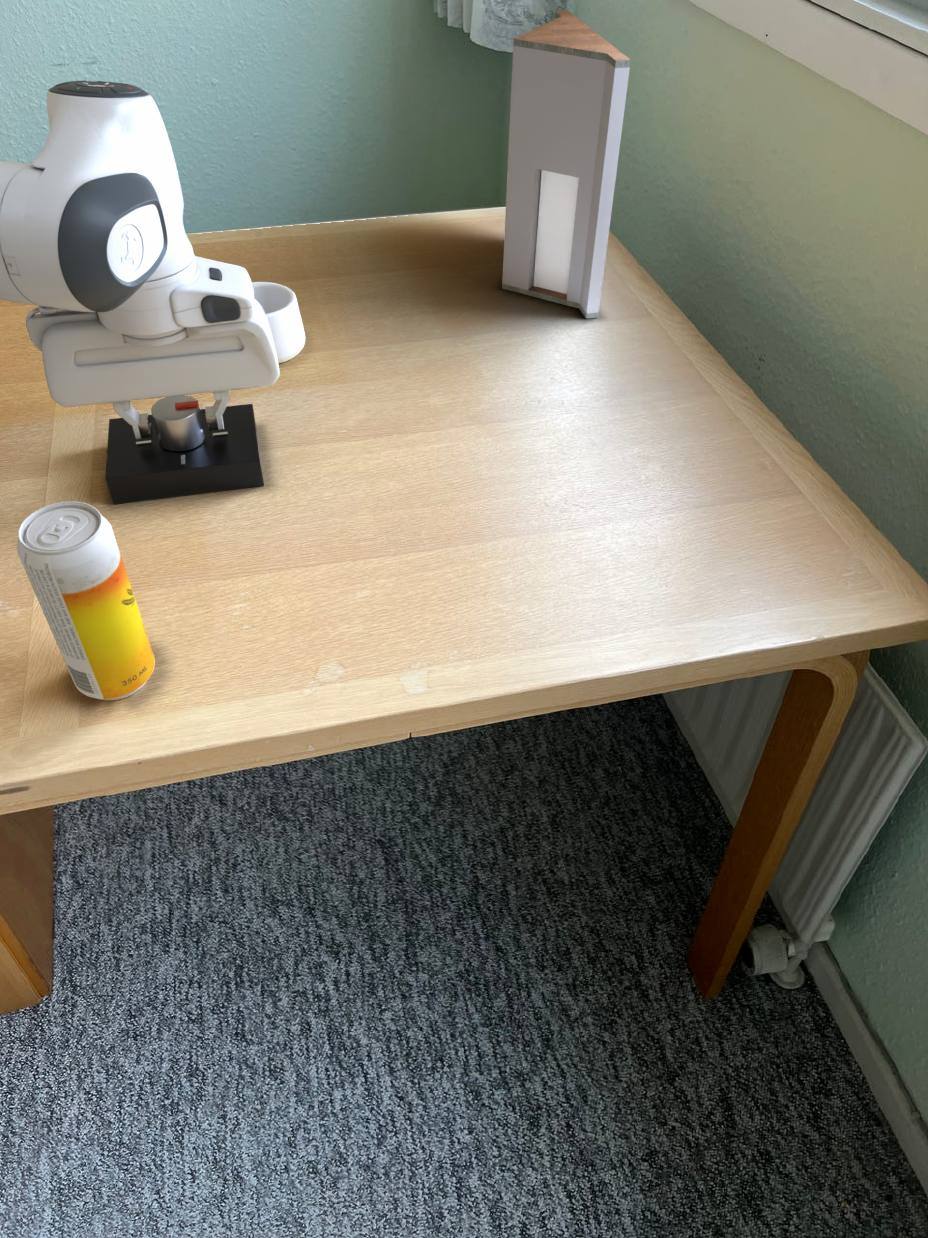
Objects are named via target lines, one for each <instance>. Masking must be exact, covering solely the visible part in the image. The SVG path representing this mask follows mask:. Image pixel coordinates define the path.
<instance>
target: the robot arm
mask: <svg viewBox="0 0 928 1238" xmlns="http://www.w3.org/2000/svg"><path fill="white" fill-rule="evenodd" d="M46 111H47V118H48V125H49V133H48V136H47V138H46V140H45V143H44V145H43V147H42V149H41V151H39V153H38V155H37V156H36V157H35V158H34V159H33V160H32V161H31V162H30V163H26V162H25V163H24V162H16V161H9V160H1V159H0V301H3V302H9V303H15V304H22V305H28V306H36V307H35V308H32V309H31V310H30V311H28V313H27V315H26V317H25V327H26V330H27V333H28V336H29V338H30V341H31V343H32V345H33V346H34V348H36V349H37V350H38V351H40V352H41V356H42V363H43V371H44V376H45V380H46V384H47V385H46V386H47V388H48V392H49V395H50V398H51V399H52V400H53V401H54V402H56V404H58V405H60V406H61V407H63V408H77V407H84V406H85V407H86V406H93V405H105V404H112V406H113V409H114V412H115V413H116V414H117V415H118V416H120V418H123V419H124V420H125V421H126V422H128V423H129V424H130V425H132V427H133V431H134V434H135V438H136V439H144V438H151V437H152V426H151V423H150V419H149V415H150V414H149V412H148V413H139V412H138V411H137V410H136V409H135V408H134V407H133V406H132V404H131V402H132V401H133V402H134V401H142V400H152V399H162V398H165V397H172V396H181V395H185V396H189V395H190V396H191V395H201V394H208V393H213V398H214V400H215V401H214V403H213V405H211V406H205V407H204V409H205V412H206V413H205V415H206V421H207V424H208V430H209V431H213V430H223V429H224V423H223V416H222V415H223V413H224V411H225V409H226V407H227V406H229V402H230V400H231V396H230V395H231V393H230V391H239V390H246V389H247V390H249V389H256V388H266V387H267V388H268V387H272V386H274V385H275V384H276V383H277V381H278V379H279V378H280V376H281V371H280V365H279V364H280V363H279V364H278V358H277V353H276V349H275V344H274V340H273V336H272V333H271V329H270V326H269V323H268V320H267V317H266V314H265V312H264V310H263V308H262V306H261V305H260V303H259V302H258V301H257V300H256V299H254V290H253V285H252V282H253V281H252V279H251V277H250V273H249V272H248V270H247V269H246V268H245V267H243V266H240V265H237V264H233V263H229V262H223V261H218V260H214V259H209V258H206V257H202V256H197V255H195V252H194V248H193V245H192V244H191V241H190V238H189V237H188V234H187V232H186V230H185V225H184V207H185V205H184V195H183V190H182V185H181V180H180V176H179V172H178V167H177V162H176V159H175V155H174V151H173V147H172V143H171V141H170V137H169V134H168V131H167V128H166V124H165V122H164V119H163V117H162V114H161V112H160V110H159V107H158V105H157V103H156V101H155V100H154V98H153V96H152V95H151V94H150V93H149V92H147V91H145V90H144V89H142V88H141V87H138V86H136V85H134V84H133V85H132V84H129V83H122V82H113V81H104V80H97V81H96V80H95V81H94V80H91V81H89V80H71V81H66V82H65V81H64V82H60V83H57V84H55V85H54V86H52V87H50V88H49V89H48V90H47V91H46Z"/></svg>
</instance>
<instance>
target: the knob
mask: <svg viewBox="0 0 928 1238" xmlns="http://www.w3.org/2000/svg"><path fill="white" fill-rule="evenodd" d="M200 409H201V408H200V404H199V400H197V399H196V398H194V397H192V396H191V395H190V396H189V395H181V396H172V397H162V398H159V400H157V401H156V402H154V403H153V404H152V406H151V408H150V415H152V418H153V421H154V425H155V429H156V433H157V437H158V441H159V444H160V445H161V446H162V447H163V448H164V449H166V450H169V451H176V452H180V451H187V450H191V449H194V448H196V447H198V446H199V445H201V444H202V443H203V441H204V440H205V436H206V435H205V430H204V425H203V421H202V416H201V412H200Z"/></svg>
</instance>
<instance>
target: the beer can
mask: <svg viewBox="0 0 928 1238" xmlns="http://www.w3.org/2000/svg"><path fill="white" fill-rule="evenodd" d="M17 538H18V540H17V544H16V552H17V555H18V558H19V560H20V562H21V565H22V566H23V569H24V571H25V573H26V576H27V578H28V581H29V582H30V585H31V587H32V590H33V592H34V595H35V597H36V599H37V601H38V604H39V606H40V608H41V610H42V613H43V615H44V617H45V620H46V622H47V624H48V627H49V629H50V631H51V634H52V635H53V638H54V641H55V643H56V645H57V647H58V649H59V652H60V655H61V656H62V659H63V661H64V663H65V666H66V668H67V671H68V673H69V675H70V678H71V680H72V682H73V684H74V686H75V688H76V689H77V690H78V691H79V692H80V693H81V694H82V695H85V696H87V697H89V698H92V699H97V700H100V701H117V700H122V699H125V698H127V697H130V696H132V695H134V694H136V693H137V692H138V691H140V690H141V689H142V688H143V687H144V686H145V685H146V684H147V682H148V680H149V679H150V678H151V676H152V674H153V673H154V671H155V667H156V666H155V665H156V659H155V655H154V652H153V649H152V646H151V643H150V640H149V637H148V633H147V631H146V627H145V625H144V622H143V618H142V615H141V612H140V609H139V606H138V603H137V600H136V596H135V594H134V591H133V589H132V585H131V581H130V579H129V576H128V572H127V570H126V566H125V564H124V561H123V558H122V555H121V551H120V548H119V545H118V542H117V539H116V537H115V533H114V530H113V526H112V525H111V523H110V521H109V520H108V519H107V518H106V517H104V516H103V515H102V514H101V512H100V511H99V510H98V509H97V507H94V506H93V505H91V504H89V503H86V502H83V501H72V500H71V501H59V502H55V503H51V504H48V505H44V506H42V507H40V508H39V509H37V510H35V511H33V512H32V513H31V514H29V515H27V517H25V518H24V520H23V521H22V522H21V523H20V525H19V527H18V531H17Z"/></svg>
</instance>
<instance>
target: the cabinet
mask: <svg viewBox="0 0 928 1238" xmlns="http://www.w3.org/2000/svg"><path fill="white" fill-rule="evenodd" d="M512 46H513V47H512V65H511V67H512V68H511V69H512V70H511V85H510V86H511V89H510V109H509V132H508V153H507V171H506V173H507V174H506V176H507V177H506V196H505V214H504V215H505V216H504V217H505V219H504V239H503V260H502V261H503V262H502V281H501V282H502V283H501V289H503V290H506V291H510V292H515V293H518V294H522V295H526V296H529V297H534V298H537V299H540V300H545V301H549V302H551V303H552V302H553V303H555V304H556V303H557V304H558V305H559V304H560V305H563V306H567V307H572V308H575V309H579V311H580V312H581V313H582V315H583V316H584V318H585V319H596V318H599V316H600V315H599V314H600V307H601V306H600V305H601V298H602V291H603V284H604V274H605V268H606V267H605V266H606V259H607V250H608V244H609V243H608V242H609V234H610V226H611V219H612V213H613V204H614V203H613V202H614V195H615V188H616V179H617V174H618V173H617V171H618V165H619V164H618V163H619V156H620V148H621V141H622V132H623V125H624V116H625V109H626V100H627V92H628V85H629V77H630V70H631V59H630V58H629V57H628V56H627V55H625V54H623V52H621V51H620V50H619V49H617V47H615V46H613V45H612V44H611V43H610V42H609V41H607V40H606V39H605V38H604V37H602V36H601V35H600V34H599V33H597V32H596V31H595V30H593V29H592V28H591V27H590V26H588V25H587V23H584V21H582V20H581V19H580V18H578V17H577V16H576V15H574V13H572V12H570V11H569V10H566V9H565V10H555V11H554V19H553V20H551V21H549V22H547V23H544V24H543V25H540V26H538V27H536V28H534V29H532V30H530V31H528V32H525V33H523V34H521V35H518V36H517V37H514V38H513V45H512Z"/></svg>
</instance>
